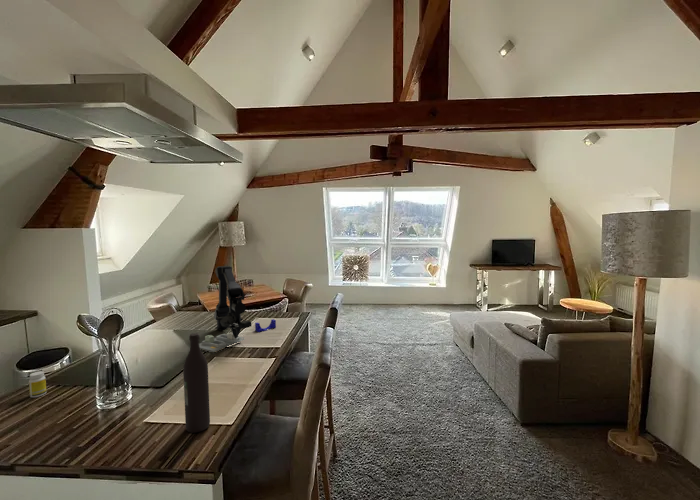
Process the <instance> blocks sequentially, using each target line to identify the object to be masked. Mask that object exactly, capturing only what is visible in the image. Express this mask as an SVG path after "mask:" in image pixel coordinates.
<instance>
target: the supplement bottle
mask: <svg viewBox="0 0 700 500" xmlns="http://www.w3.org/2000/svg"><path fill="white" fill-rule="evenodd" d="M46 379H47V378H46V376H45V371H44V370H39V371H36V372H32V373H30V374H29V380H28V389H29V390H28V391H29V398H39V397H41V396H44V395H45V394H47V391H48V390H47V381H46Z"/></svg>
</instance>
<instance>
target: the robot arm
mask: <svg viewBox="0 0 700 500" xmlns="http://www.w3.org/2000/svg"><path fill="white" fill-rule="evenodd" d="M214 272H215V275H216V278H217V279H218V303H217V304H216V306H215V310H214V313H213V319H214V320H215V321H216V326H215V327H214V329H215V330H219V331H223V330H225V329H230V330H231V332H233V335H234V337H235V338H237V337H238V336H239V335H240V333H241V331H242V330H244V329H248V328H250V327H252V321H250V320H246V319H245V320H243V319H244V318H242V314H244V313H245V312H246V309H247V306H246V304H245V303H243V301H245V293H244V290H243V288H242V287H241V285H240V284H239V283H238V282H236V278H235V276H234V273H233V267H232V266H231V265H221V266H219V265H218V266H217V267H216V268H215V271H214ZM228 303H229V305H228Z"/></svg>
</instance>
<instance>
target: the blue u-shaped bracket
mask: <svg viewBox="0 0 700 500" xmlns="http://www.w3.org/2000/svg"><path fill="white" fill-rule="evenodd" d="M276 321H277V320H276V319H270V323H269V325H268V326H266V327H263V328H262V327H261V325H260V323H259V322H255V324H254V326H255V327H254V328H255V329H254V330H255V332H257V333H260V332H262V331H263V332H266V331H268V330H271V329H272V328H273V329H276V328H277V322H276ZM267 329H268V330H267Z"/></svg>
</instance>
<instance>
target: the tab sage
mask: <svg viewBox="0 0 700 500" xmlns="http://www.w3.org/2000/svg"><path fill="white" fill-rule="evenodd" d="M214 338H215V336H214V335H212V334H208V335H205V336H204V340H205V341H206V342H210V343H214Z"/></svg>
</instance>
